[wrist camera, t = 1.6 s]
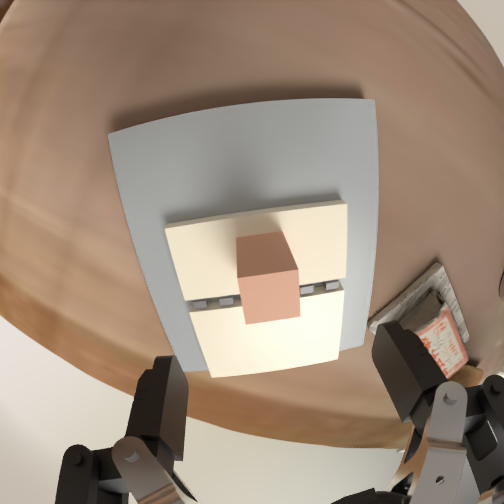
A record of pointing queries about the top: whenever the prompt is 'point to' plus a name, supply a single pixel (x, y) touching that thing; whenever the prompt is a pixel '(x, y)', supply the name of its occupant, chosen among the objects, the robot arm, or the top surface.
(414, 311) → the packaged product
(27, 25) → the top surface
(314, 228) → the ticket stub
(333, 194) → the board
